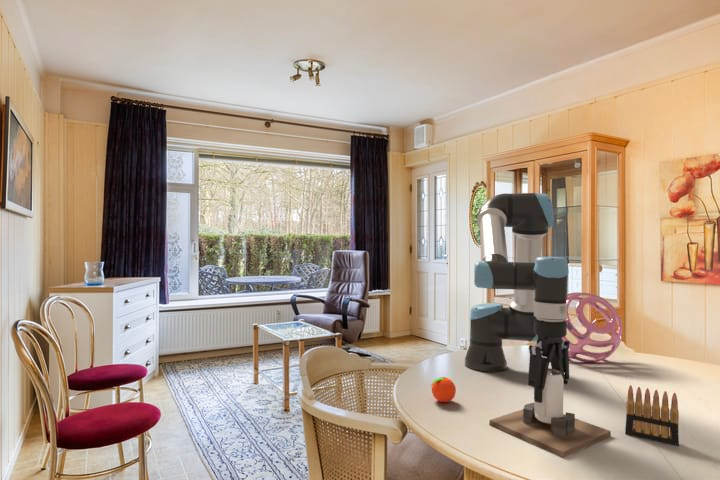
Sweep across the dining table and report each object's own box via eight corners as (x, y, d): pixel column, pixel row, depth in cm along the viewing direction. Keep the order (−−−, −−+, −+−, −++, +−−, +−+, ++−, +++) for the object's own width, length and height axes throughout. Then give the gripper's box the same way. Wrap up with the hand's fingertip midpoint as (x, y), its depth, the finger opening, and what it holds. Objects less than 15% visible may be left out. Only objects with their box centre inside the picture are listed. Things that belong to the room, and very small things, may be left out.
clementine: (436, 408, 123) (437, 382, 123) (423, 399, 129) (424, 375, 129) (460, 404, 126) (461, 379, 126) (446, 396, 132) (446, 372, 132)
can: (550, 426, 105) (551, 376, 105) (528, 417, 111) (529, 369, 111) (568, 422, 108) (569, 373, 108) (546, 412, 114) (547, 366, 114)
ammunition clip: (625, 434, 108) (625, 385, 108) (625, 431, 109) (626, 383, 109) (679, 446, 102) (679, 394, 102) (678, 443, 103) (679, 392, 103)
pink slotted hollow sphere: (537, 302, 199) (562, 272, 177) (601, 319, 195) (635, 291, 173) (532, 360, 184) (559, 335, 161) (601, 380, 180) (639, 358, 158)
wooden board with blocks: (489, 424, 112) (489, 406, 112) (537, 408, 123) (537, 392, 123) (563, 457, 96) (563, 435, 96) (610, 435, 107) (610, 416, 107)
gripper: (540, 325, 101) (538, 425, 101) (586, 318, 112) (584, 408, 112) (512, 320, 107) (511, 414, 107) (558, 313, 118) (557, 399, 118)
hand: (548, 411), depth 110 cm, fingers closed on can, 6 cm apart
